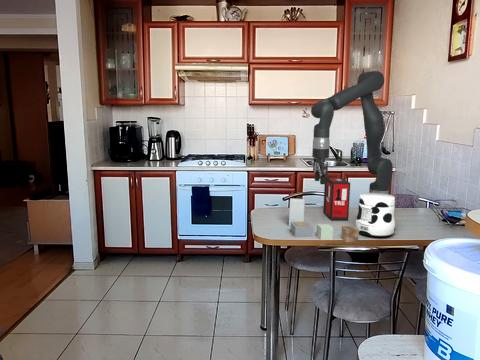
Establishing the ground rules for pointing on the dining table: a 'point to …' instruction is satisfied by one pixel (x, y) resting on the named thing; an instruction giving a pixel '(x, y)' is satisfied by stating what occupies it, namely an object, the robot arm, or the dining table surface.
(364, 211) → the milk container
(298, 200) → the supplement box
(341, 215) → the cleaning product box
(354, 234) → the tan wooden cube
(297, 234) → the grey base block
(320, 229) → the sage green block
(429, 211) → the dining table surface
